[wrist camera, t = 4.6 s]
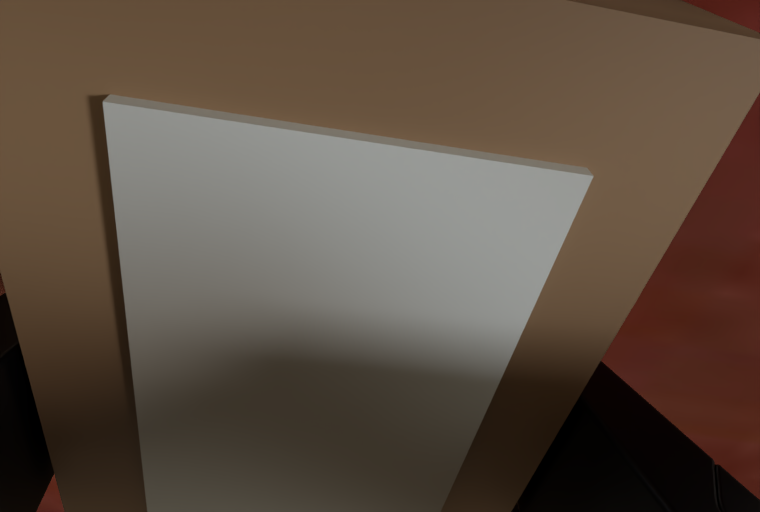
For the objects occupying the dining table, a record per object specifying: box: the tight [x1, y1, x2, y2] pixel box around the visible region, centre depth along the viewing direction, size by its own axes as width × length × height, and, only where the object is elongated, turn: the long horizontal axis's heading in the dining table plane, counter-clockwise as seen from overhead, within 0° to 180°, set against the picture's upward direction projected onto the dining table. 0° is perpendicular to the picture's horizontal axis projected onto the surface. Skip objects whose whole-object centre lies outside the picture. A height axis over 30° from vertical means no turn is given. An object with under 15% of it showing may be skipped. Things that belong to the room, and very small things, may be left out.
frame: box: [0, 0, 760, 512], centre depth 8 cm, size 10×6×4 cm, turn 169°
